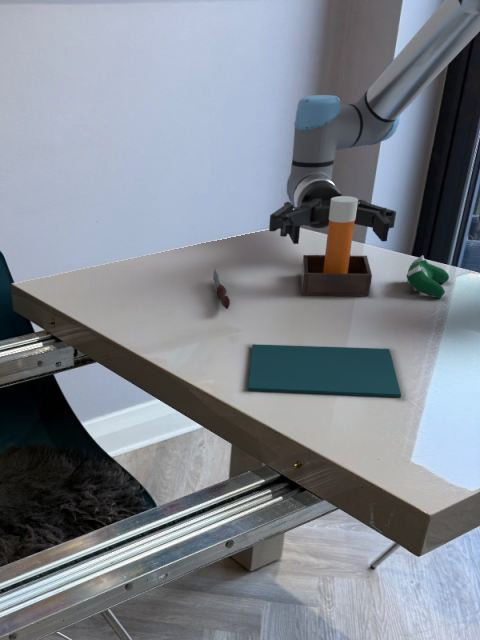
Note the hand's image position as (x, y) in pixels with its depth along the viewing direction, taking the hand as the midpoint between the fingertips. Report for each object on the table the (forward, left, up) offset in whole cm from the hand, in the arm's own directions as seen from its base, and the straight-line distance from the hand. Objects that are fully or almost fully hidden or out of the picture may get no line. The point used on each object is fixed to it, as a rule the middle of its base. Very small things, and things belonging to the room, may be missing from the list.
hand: (341, 233), depth 122 cm
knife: (+18, +6, -9) cm, 21 cm away
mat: (+3, +33, -8) cm, 34 cm away
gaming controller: (-14, 0, -9) cm, 16 cm away
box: (0, -1, -8) cm, 8 cm away
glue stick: (0, -1, -8) cm, 8 cm away
